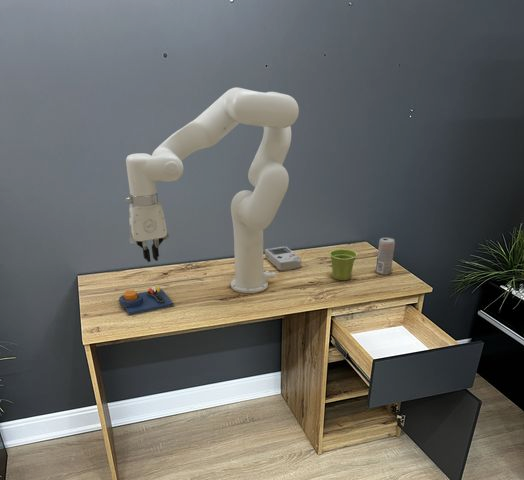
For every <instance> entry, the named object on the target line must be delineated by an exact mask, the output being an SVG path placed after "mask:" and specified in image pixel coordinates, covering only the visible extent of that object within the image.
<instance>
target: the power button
mask: <svg viewBox="0 0 524 480" xmlns="http://www.w3.org/2000/svg"><path fill="white" fill-rule="evenodd" d="M137 293H138V292H137V291H136V290H131V289H130V290H126V291H124V292H123V295H124V299H125V300H126V301H133V300H136V299H137V298H138V297H137Z"/></svg>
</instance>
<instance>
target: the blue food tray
mask: <svg viewBox="0 0 524 480" xmlns="http://www.w3.org/2000/svg"><path fill="white" fill-rule="evenodd" d="M146 293H147V291H142V292H137V297H138V298H137V299H136V300H133V301H126V300H125V299H124V294H122V295H120V296H119V299H118V300H119V305H120V306H121V307H123V308H124V309H125V312H126V313H127V314H128V316H133V315H134V316H135V315H139V314H143V313H148V312H152V311H157V310H161V309H166V308H172V307H174V303H173V302H172V300H171V298H170V297H169V296H168V294H166V292H165V291H164V290H163V289H162V288H160V291H159V293H158V296H160V297H163V298H164V300H165V302H164V303H158V302H157V301H156V299H155V298H154V297H151V296H148V295H147V294H146ZM158 300H160V299H158ZM160 301H162V300H160Z"/></svg>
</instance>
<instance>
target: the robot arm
mask: <svg viewBox="0 0 524 480" xmlns="http://www.w3.org/2000/svg"><path fill="white" fill-rule="evenodd" d="M299 113H300V108H299V105H298V102H297V100H296V99H295V98H294V97H293V96H291V95H289V94H286V93H282V92H277V91H267V92H262V91H256V90H251V89H248V88H247V89H246V88H242V87H232V88H229V89H227V91H225V92H224V93H223V94H222V95H221V96H219V97H218V99H216V100H215V101H214V102H213V103H211V105H209V106H208V107H207V108H206V109H205V110H204V111H203V112H201V113H200V114H199V115H198V116H197V117H195V119H193V120H191V121H190V122H188V123H187V124H186V125H184V126H183V127H181V128H179V129H178V130H176V131H175V132H174V133H172V134H171V135H170V136H169V137H168V138H166V139H165V140H164V141H163V142H161V143H160V144H159V145H158V147H156V148H155V149H154V150H153V152H152V154H149V153H142V152H140V153H139V152H138V153H131V154H129V155H127V157H126V158H125V165H126V173H127V180H128V189H129V196H127V197H125V202H126V203H130V204H129V209H128V210H129V211H128V220H129V222H128V223H129V233H130V235H129V239H128V242H129V243H130V244H132V245H137V246H138V247H140V248H141V249H142V254H143V259H144V260H146V261H147V262H148V263H150V262H151V253H152V258H153V259H154V261H159V257H160V252H159V247H160V245H161V244H162V242H163V241H165V240H167V239H168V238H170V235H169V233H168V229H167V223H166V218H165V213H164V209H163V206H162V202H160V201H159V199H158V190H157V182H166V183H167V182H169V183H170V182H175V181H178V180H179V179H181V178H182V176H183V173H184V164H183V162H182V161H184V160H185V159H186V158H187V157H188V156H190V155H191V154H193V153H195V152H197V151H199V150H203V149H207V148H211V147H213V146H215V145H217V143H219V142H220V141H221V140H222V139H223V138H225V136H226V135H228V134H229V133H230V132H231V131H232V130H234V128H235V127H237V126H238V125H240V124H243V125H247V126H254V127H263V135H262V139H261V141H260V144H259V147H258V149H257V151H256V153H255V156H254V158H253V160H252V162H251V164H250V167H249V169H248V174H247V178H248V179H247V180H248V181H249V184H250V185H251V186H252V187H254V189H253V190H248V189H244V190H240V191H238V192H237V193H236V194H235V195H234V196H233V198H232V200H231V203H230V213H231V220H232V221H231V222H232V228H233V229H232V230H233V253H234V279H232V280H231V281H230V287H231V289H232V290H234V291H235V292H237V293H242V294H257V293H261V292H263V291H265V290H267V288H268V287H269V279H274V278H277V276H278V275H277V272H276V271H272V272H270V270H265V271H264V230H265V229H267V228H268V227H269V226H270V225H271V224H272V222H273V220H274V219H275V216H276V215H277V213H278V211H279V208H280V206H281V204H282V203H283V200H284V198H285V196H286V193H287V191H288V189H289V184H290V176H289V173H288V171H287V168H286V167H284V165H283V164H284V162H285V160H286V157H287V155H288V153H289V150H290V147H291V143H292V125H294V124H295V123H296V121H297V120H298V117H299ZM151 240H152V244H151V253H150V249H149V247H148V244H147V241H151Z"/></svg>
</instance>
